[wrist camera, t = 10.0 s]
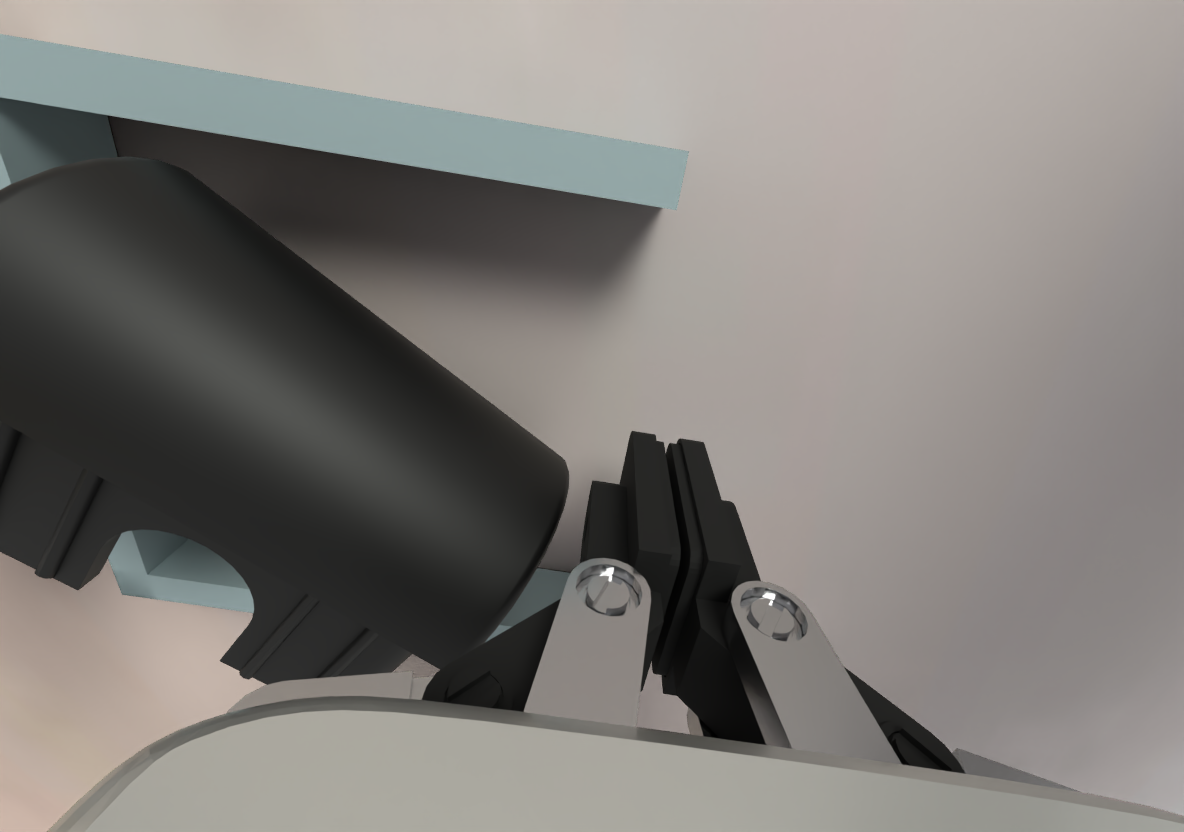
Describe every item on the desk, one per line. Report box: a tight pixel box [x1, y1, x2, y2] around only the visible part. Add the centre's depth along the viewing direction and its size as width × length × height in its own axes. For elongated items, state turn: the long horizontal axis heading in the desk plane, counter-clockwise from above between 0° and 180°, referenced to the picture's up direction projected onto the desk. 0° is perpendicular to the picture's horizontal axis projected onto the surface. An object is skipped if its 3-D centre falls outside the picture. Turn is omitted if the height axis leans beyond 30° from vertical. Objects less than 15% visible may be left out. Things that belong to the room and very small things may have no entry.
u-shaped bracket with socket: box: [0, 34, 689, 642], centre depth 11 cm, size 14×20×7 cm
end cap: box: [0, 156, 569, 685], centre depth 11 cm, size 10×7×7 cm
